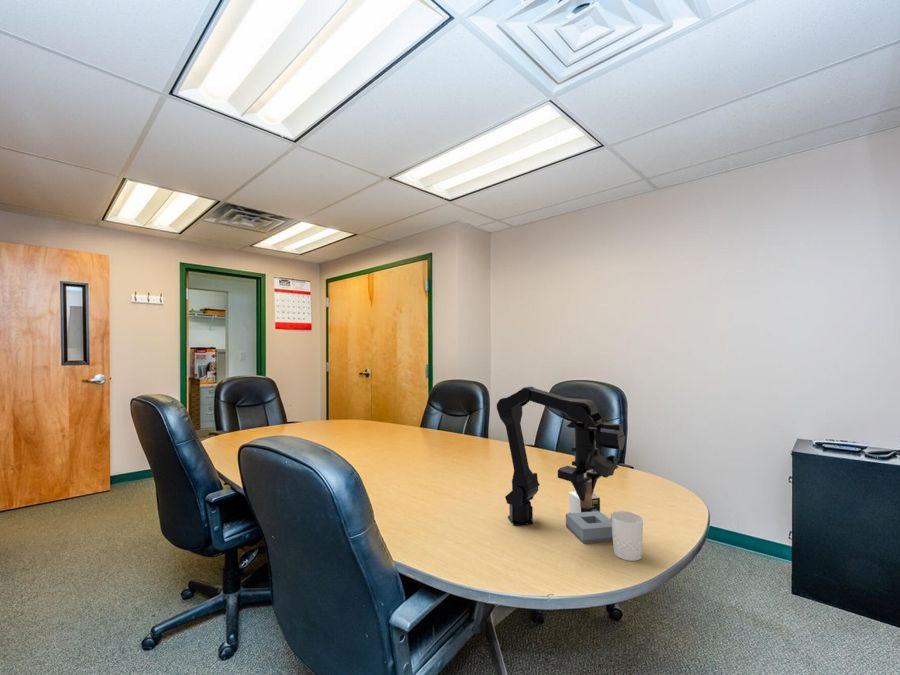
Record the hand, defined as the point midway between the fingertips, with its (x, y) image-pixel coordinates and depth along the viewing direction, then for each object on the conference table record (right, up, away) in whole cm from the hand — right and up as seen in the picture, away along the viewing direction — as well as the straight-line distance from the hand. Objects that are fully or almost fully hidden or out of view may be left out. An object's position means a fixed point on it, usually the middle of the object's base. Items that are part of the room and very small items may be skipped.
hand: (585, 499), depth 116 cm
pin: (0, -2, 0) cm, 2 cm away
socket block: (+3, -12, +5) cm, 13 cm away
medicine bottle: (+5, -13, +17) cm, 22 cm away
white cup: (+8, -12, -8) cm, 17 cm away
